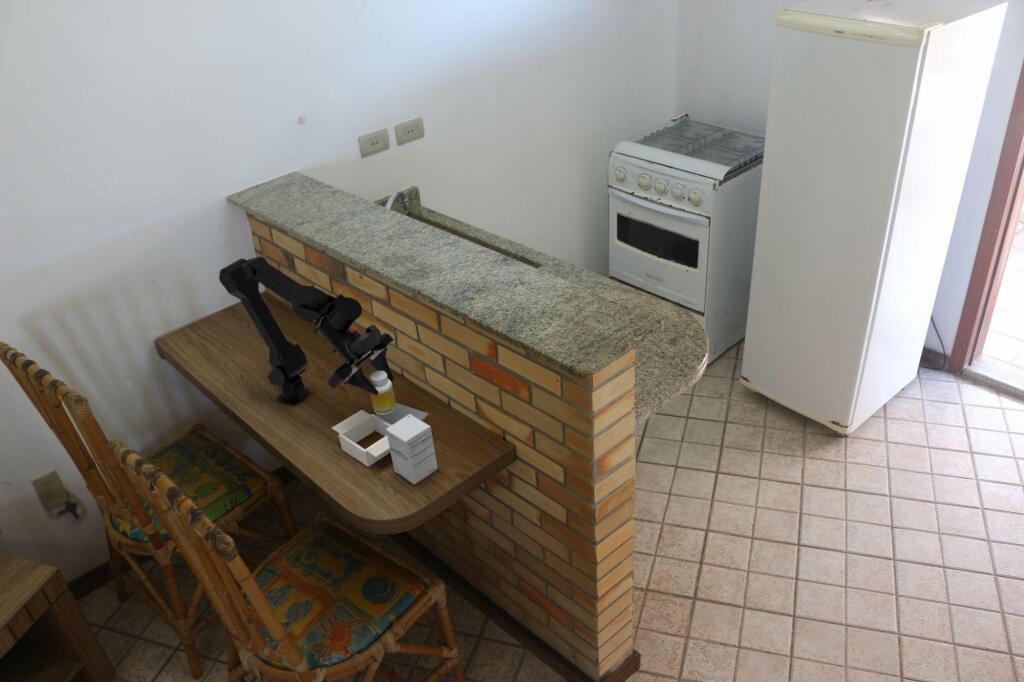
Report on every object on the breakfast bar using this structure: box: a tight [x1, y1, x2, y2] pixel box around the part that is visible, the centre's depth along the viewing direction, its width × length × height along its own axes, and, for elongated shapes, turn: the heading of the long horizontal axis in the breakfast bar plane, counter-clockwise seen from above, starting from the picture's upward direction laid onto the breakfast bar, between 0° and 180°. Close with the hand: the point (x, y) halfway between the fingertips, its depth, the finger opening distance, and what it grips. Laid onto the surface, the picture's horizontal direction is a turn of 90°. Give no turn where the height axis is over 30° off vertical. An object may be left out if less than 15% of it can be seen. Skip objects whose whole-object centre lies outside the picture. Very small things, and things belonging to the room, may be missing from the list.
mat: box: [374, 402, 430, 425], centre depth 209 cm, size 12×8×1 cm, turn 58°
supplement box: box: [386, 414, 438, 485], centre depth 188 cm, size 7×7×13 cm
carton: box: [331, 409, 391, 468], centre depth 199 cm, size 17×10×4 cm, turn 46°
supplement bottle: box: [369, 370, 397, 415], centre depth 199 cm, size 5×5×10 cm
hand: (385, 387), depth 197 cm, fingers closed on supplement bottle, 5 cm apart
